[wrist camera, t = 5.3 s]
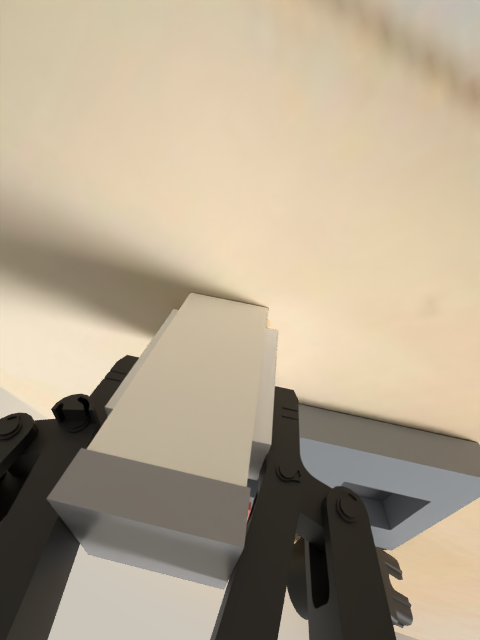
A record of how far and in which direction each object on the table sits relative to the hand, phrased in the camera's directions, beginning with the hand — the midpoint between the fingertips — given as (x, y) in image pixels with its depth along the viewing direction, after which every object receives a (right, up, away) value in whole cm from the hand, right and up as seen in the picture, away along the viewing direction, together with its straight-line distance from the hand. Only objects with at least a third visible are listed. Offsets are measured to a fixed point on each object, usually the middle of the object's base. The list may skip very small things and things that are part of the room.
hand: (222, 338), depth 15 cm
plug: (0, 0, +1) cm, 1 cm away
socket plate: (+6, -11, +7) cm, 14 cm away
